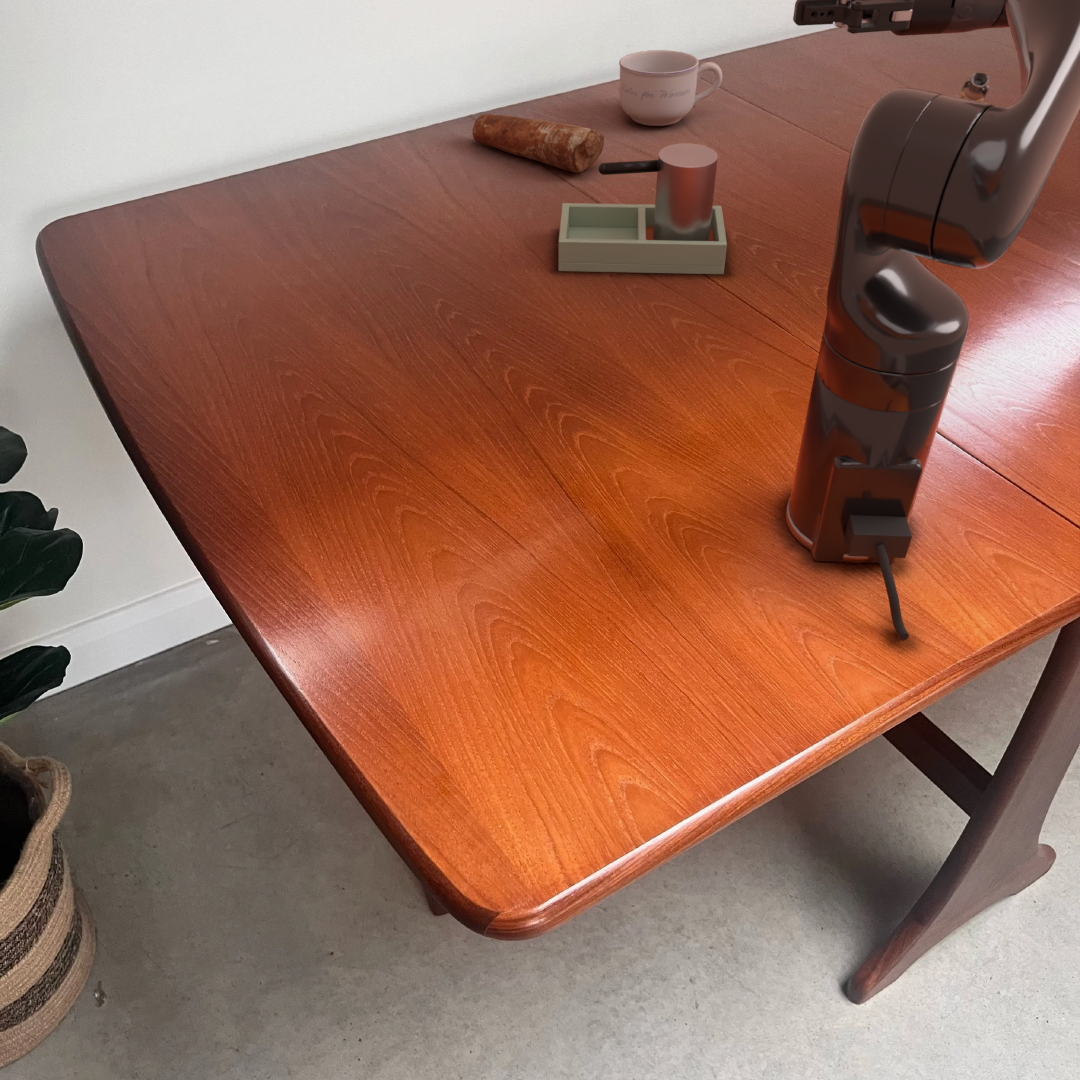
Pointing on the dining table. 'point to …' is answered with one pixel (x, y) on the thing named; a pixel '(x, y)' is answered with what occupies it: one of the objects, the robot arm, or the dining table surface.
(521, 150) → the bread
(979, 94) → the vase
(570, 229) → the divided box
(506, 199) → the dining table surface
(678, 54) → the teacup
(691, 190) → the handled metal cylinder
